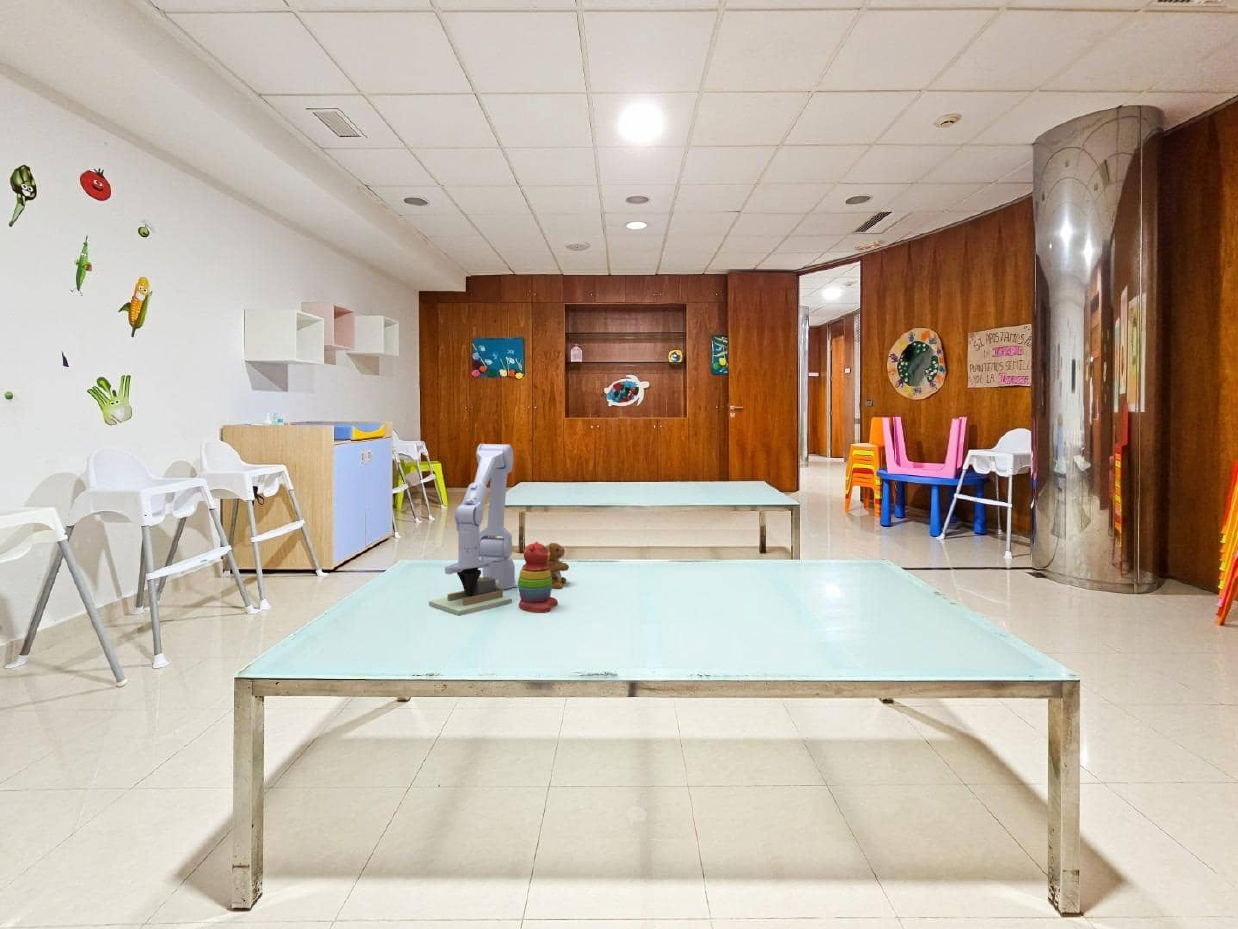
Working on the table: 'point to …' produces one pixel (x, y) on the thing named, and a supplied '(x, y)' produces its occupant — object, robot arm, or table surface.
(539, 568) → the stacking bear
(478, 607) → the board
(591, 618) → the table surface
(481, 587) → the plug block
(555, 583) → the brown teddy bear
